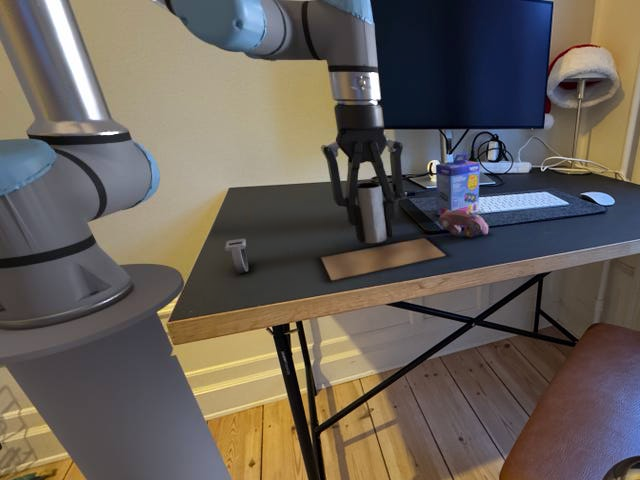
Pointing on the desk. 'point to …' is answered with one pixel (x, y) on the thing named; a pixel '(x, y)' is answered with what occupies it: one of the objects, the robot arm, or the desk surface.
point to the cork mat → (379, 258)
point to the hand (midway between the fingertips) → (374, 237)
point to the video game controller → (463, 222)
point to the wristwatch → (238, 254)
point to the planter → (372, 211)
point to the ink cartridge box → (457, 185)
